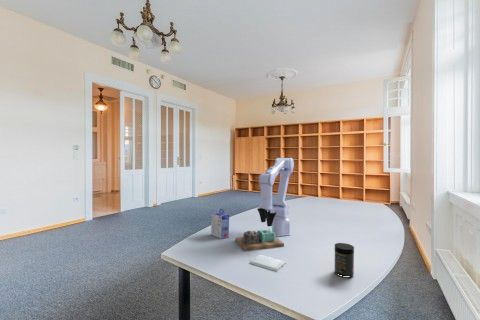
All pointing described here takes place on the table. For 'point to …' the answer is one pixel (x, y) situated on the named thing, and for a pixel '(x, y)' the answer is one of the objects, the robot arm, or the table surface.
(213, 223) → the ink cartridge box
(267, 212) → the robot arm
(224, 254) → the table surface
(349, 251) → the supplement container
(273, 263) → the hard drive
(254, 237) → the gear board
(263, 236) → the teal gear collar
